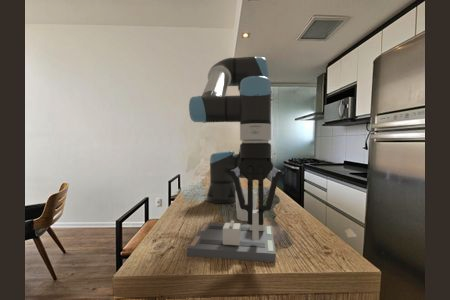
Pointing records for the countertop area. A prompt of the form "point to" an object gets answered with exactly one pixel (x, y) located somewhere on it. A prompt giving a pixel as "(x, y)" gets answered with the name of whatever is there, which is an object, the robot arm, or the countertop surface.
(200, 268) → the countertop surface
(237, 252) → the switch panel
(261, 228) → the block
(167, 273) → the countertop surface
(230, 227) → the breaker
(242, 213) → the white cup
